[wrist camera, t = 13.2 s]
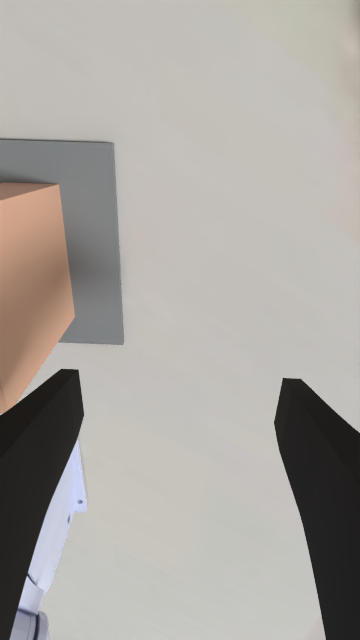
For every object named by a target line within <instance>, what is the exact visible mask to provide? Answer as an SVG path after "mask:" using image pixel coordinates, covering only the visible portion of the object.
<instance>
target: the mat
mask: <svg viewBox="0 0 360 640" xmlns="http://www.w3.org/2000/svg"><path fill="white" fill-rule="evenodd" d="M3 182H8V183H38V184H59V189H60V197H61V205H62V214H63V222H64V230H65V238H66V247H67V255H68V263H69V271H70V280H71V288H72V296H73V304H74V313H75V318H74V319H73V321H72V322H71V324H70V325H69V327H68V328H67V329H66V331H65V332H64V334H63V335H62V337H61V338H60V340H59V341H58V342H64V343H89V344H113V345H123V343H124V333H123V313H122V294H121V275H120V256H119V236H118V217H117V198H116V179H115V159H114V143H91V142H59V141H27V140H0V183H3Z"/></svg>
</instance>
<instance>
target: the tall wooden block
mask: <svg viewBox="0 0 360 640" xmlns="http://www.w3.org/2000/svg"><path fill="white" fill-rule="evenodd" d="M74 318H75V313H74V304H73V296H72V288H71V280H70V271H69V263H68V255H67V247H66V238H65V230H64V222H63V214H62V205H61V197H60V189H59V184H38V183H8V182H3V183H0V413H5V412H6V411H7V410H9V409H10V408H12V407H13V406H14V405H15V404H16V402H17V401H18V399H19V398H20V396H21V395H22V393H23V392H24V390H25V389H26V388H27V386H28V385H29V383H30V382H31V380H32V379H33V377H34V376H35V375H36V373H37V372H38V370H39V369H40V367H41V366H42V364H43V363H44V361H45V360H46V359H47V357H48V356H49V354H50V353H51V351H52V350H53V348H54V347H55V345H56V344H57V343H58V341H59V340H60V338H61V337H62V335H63V334H64V332H65V331H66V329H67V328H68V327H69V325H70V324H71V322H72V321H73V319H74Z"/></svg>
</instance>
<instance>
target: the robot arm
mask: <svg viewBox="0 0 360 640" xmlns="http://www.w3.org/2000/svg"><path fill="white" fill-rule="evenodd" d="M83 417H84V410H83V402H82V394H81V386H80V378H79V370H74V369H61V370H59V371H58V372H57V373H55V374H54V375H53V376H52V377H50V378H49V379H48V380H47V381H45V382H44V383H43V384H42V385H40V386H39V387H38V388H37V389H35V390H34V391H33V392H31V393H30V394H29V395H28V396H26V397H25V398H24V399H22V400H21V401H20V402H19V403H17V404H16V405H14V406H13V407H12V408H10V409H9V410H7V411H6V412H5V413H3V414H2V415H0V640H50V635H49V629H48V619H47V616H46V614H45V613H44V612H41V611H39V608H40V605H41V602H42V599H43V597H44V595H45V594H46V592H47V591H48V589H49V587H50V585H51V583H52V581H53V578H54V575H55V572H56V569H57V566H58V563H59V560H60V557H61V553H62V550H63V547H64V544H65V541H66V538H67V535H68V532H69V529H70V525H71V522H72V519H73V516H74V513H75V512H85V511H86V510H87V499H86V492H85V485H84V478H83V471H82V464H81V457H80V450H79V442H78V435H79V431H80V428H81V424H82V420H83ZM274 425H275V430H276V436H277V441H278V446H279V451H280V454H281V457H282V460H283V463H284V467H285V470H286V473H287V476H288V479H289V482H290V485H291V488H292V491H293V494H294V497H295V500H296V503H297V506H298V509H299V513H300V516H301V520H302V523H303V527H304V532H305V536H306V540H307V545H308V549H309V554H310V559H311V563H312V568H313V573H314V578H315V583H316V588H317V593H318V598H319V604H320V609H321V615H322V620H323V625H324V631H325V636H326V640H360V433H359V432H358V431H357V430H355V429H354V428H353V427H352V426H351V425H349V424H348V423H347V422H346V421H345V420H344V419H343V418H341V417H340V416H339V415H338V414H337V413H336V412H335V411H334V410H333V409H332V408H331V407H330V406H328V405H327V404H326V403H325V402H324V401H323V400H322V399H321V398H320V397H319V396H318V395H317V394H316V393H315V392H314V391H313V390H312V389H311V388H310V387H309V386H308V385H307V384H306V383H305V382H303V381H302V380H301V379H291V378H283V381H282V386H281V391H280V396H279V401H278V406H277V411H276V416H275V421H274Z"/></svg>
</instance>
